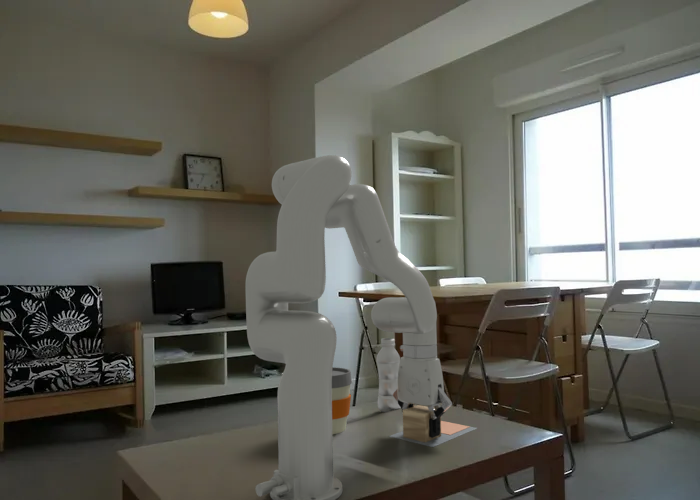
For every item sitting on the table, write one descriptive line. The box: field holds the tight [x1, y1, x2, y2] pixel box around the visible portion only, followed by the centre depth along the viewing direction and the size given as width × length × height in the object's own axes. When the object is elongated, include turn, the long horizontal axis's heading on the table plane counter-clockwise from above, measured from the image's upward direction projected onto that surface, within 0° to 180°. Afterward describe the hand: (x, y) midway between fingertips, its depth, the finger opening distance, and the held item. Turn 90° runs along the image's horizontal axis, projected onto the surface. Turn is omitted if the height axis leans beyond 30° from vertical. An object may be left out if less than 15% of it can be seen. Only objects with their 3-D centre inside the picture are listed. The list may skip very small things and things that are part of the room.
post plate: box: [388, 420, 478, 448], centre depth 125 cm, size 18×12×6 cm, turn 136°
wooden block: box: [402, 405, 442, 442], centre depth 121 cm, size 6×6×6 cm
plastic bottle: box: [376, 337, 401, 413], centre depth 149 cm, size 6×7×20 cm
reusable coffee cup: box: [332, 366, 353, 435], centre depth 129 cm, size 12×13×15 cm
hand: (422, 432), depth 121 cm, fingers closed on wooden block, 6 cm apart
